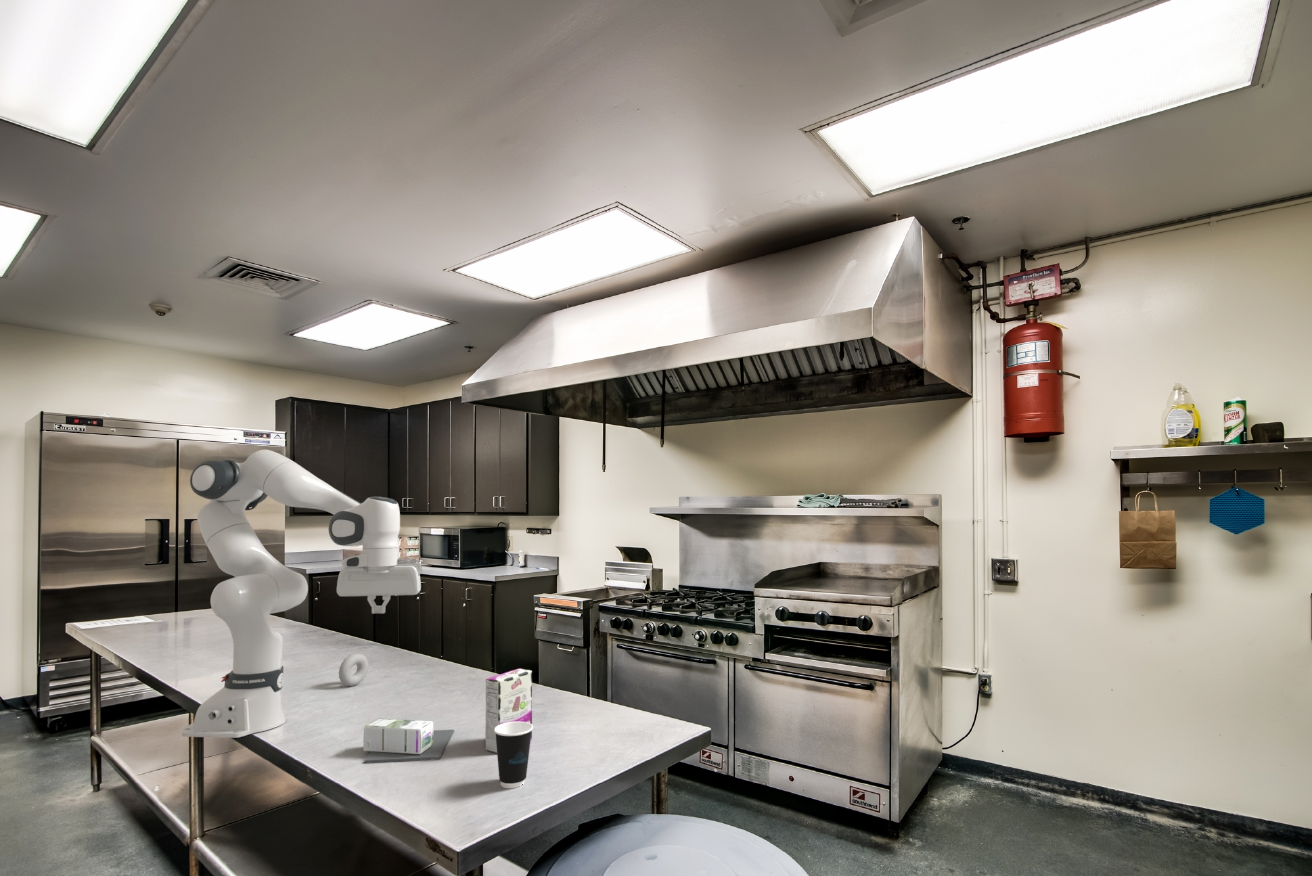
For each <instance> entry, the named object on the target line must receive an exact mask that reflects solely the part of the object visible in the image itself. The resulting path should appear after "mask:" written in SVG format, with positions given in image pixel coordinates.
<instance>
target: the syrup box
mask: <svg viewBox="0 0 1312 876" xmlns="http://www.w3.org/2000/svg"><path fill="white" fill-rule="evenodd" d="M433 736H434V721H432V720H431V721H430V720H413V719H412V720H411V719H398V718H397V719H395V718H377V719H375V720H373V721H371V722H370V723H368V724H366V725H364V727H363V741H362V742H363V743H362V744H363V745H362V746H363V747H362V748H363V752H372V751H373V752H389V753H408V754H421V753H422V752H424V751H425V750H426V749H428V748H429V747H431V746H432V745H433Z"/></svg>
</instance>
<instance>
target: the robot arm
mask: <svg viewBox="0 0 1312 876" xmlns="http://www.w3.org/2000/svg"><path fill="white" fill-rule="evenodd" d="M189 477H190V478H189V485H190V488H191V490H192V492H193V493H195V495H197V496H199V497H201V498H204V499H207V500H210V501H209V502H207V503H206V504H204V505H203V506H202V507H200V509H199V511H198V513H197V515H196V516H197V518H196V519H197V523H198V527H199V530H200V533H201V536H202V538H203V540H204V543H205V545H206V546H207V549H208V550H209V552H210V554H211V555H212V558H213V559H214V561H215V563H216V566H217V567H218V568H219V569H220V570H221V571H222V572H223V573H225V574H227V575H230V576H233V577H231V578H229V579H226V580H223V581H221V582H219V583H217V585H216V586H215V587H214V589H213V590H212V593H211V595H210V606H211V610H212V612H213V613H214V615H215V616H216V617H218V618H220V619H221V620H222V621H223V622H224V623H225V625H226V626H227V627H228V629H229V631H230V633H231V637H232V645H233V653H232V654H233V658H232V659H233V660H232V662H233V663H232V669H231V671H230V672H228V673H227V674H224V676H222V677H220V678H221V679H222V680H221V683H223V682H224V686H223V687H222V688H221V689H220V690H218V691H217V692H216V693H214V694H213V695H211V696H210V697H208V698H207V700H205V701H204V702H202V703H201V704H200V705H199V707H198V708H197V710H196V713H195V716H194V721H193V722H192V723H190V724H188V725H187V726H186V727H184V728H183V730H182V734H181V735H182V737H187V738H188V737H190V738H192V737H193V738H227V739H228V738H229V739H230V738H232V739H233V738H234V739H235V738H237V739H238V738H241V737H245V736H248V735H252V734H257V733H260V732H264V731H268V730H272V729H274V728H276V727H279V726H281V725H283V724H285V722H286V721H287V718H286V715H285V711H284V710H285V709H284V705H283V703H284V702H283V695H282V694H283V693H282V689H283V686H284V678H285V677H284V676H285V675H284V670H285V669H284V666H283V655H284V654H283V652H284V637H283V636H282V634H281V633H280V632H278V631H277V630H274V629H273V627H272V626H271V623H270V619H269V618H270V617H269V615H270V614H271V615H272V614H276V613H281V612H286V611H288V610H291V609H293V608H295V607H297V606H299V605H301V604H302V603H303V602H305V600H306V598H307V595H308V591H309V585H308V582H307V579H306V577H305V576H304V575H303V574H301V573H300V572H297V571H294V570H293V569H290V568H289V567H287V566H286V565H284V564H282V563H281V562H280V561H279V560H278V559H276V558H275V557H274V556H273V555H272V554H271V553H270V552H269V551H268V550H267V549H266V548H265V547H264V545H263V543H262V542H261V540H260V539H259V537H258V535H257V533H256V532H255V530H254V529H253V527H252V525H251V523H250V521H249V520H248V518H247V517H246V515H245V511H252V510H254V509H255V508H257V506H258V504H260V503H262V502H263V501H265V500H266V498H268V497H269V498H270V499H272V500H273V501H275V502H277V503H279V504H282V505H285V506H288V507H292V508H305V509H314V510H320V511H325V512H328V513H330V514H332V515H333V516H332V517H331V519H330V521H329V524H328V534H329V537H330V539H331V541H332V542H333V543H334V544H335V545H337V546H343V547H353V546H355V547H360V546H362V552H361V553H357V554H354V555H353V556H350V557H346V558H344V559H342V561H341V562H342V563H341V565H342V566H341V567H342V568H341V570H340V571H339V574H338V576H337V577H338V578H337V582H336V584H337V585H336V593H337V595H338V596H339V597H367V602H368V603H369V605H370V607H371V614H377V615H378V614H385V613H386V606H387V605H388V603H389V601H390V600H391V596H415V595H418V594H419V592H421V590H422V589H421V588H422V584H421V576H420V575H421V574H422V571H423V567H422V566H423V565H422V562H421V561H419V560H418V559H417V558H400V544H399V543H400V542H399V534H400V530H401V513H400V506H399V503H398V502H397V500H395V499H393V498H389V497H387V496H386V497H385V496H374V495H373V496H370V497H367V498H366V499H365V500H364V501H363V502H360V501H358V500H356V499H354V498H353V497H351V496H350V495H348V494H346V493H345V492H343V491H341V490H339V489H337V488H335V487H333V486H332V485H330V484H329V483H327V482H325V481H324V480H322V479H321V478H318V477H317V476H316V475H315V474H313V473H311V472H310V471H309V470H307V469H305V468H304V467H303V466H301V465H300V464H298V463H297V462H295V461H293V460H291V458H289V457H287V456H285V455H282V453H278V452H275V451H274V450H270V449H260V450H257V451H254V452H253V453H251V454H250V455H249V456H248V457H247V459H245V461H243V462H235V460H233V459H212V460H205V461H202V462H201V463H199V464H197V466H195V467H194V468H193V470H192V472H191V474H190V476H189ZM377 596H378V597H379V596H382V600H383V603H382V605H377V604H376V602H375V599H376V597H377Z"/></svg>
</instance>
